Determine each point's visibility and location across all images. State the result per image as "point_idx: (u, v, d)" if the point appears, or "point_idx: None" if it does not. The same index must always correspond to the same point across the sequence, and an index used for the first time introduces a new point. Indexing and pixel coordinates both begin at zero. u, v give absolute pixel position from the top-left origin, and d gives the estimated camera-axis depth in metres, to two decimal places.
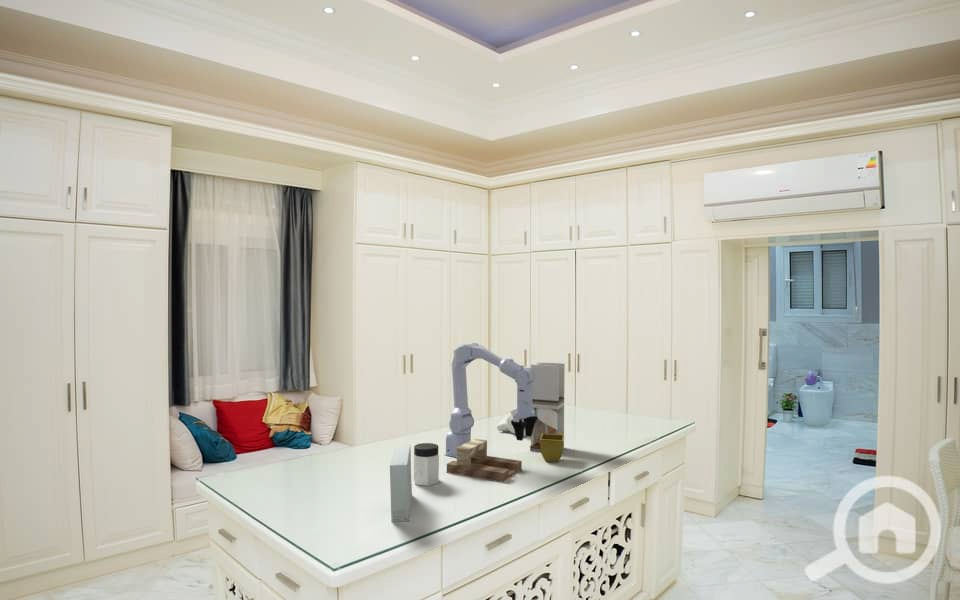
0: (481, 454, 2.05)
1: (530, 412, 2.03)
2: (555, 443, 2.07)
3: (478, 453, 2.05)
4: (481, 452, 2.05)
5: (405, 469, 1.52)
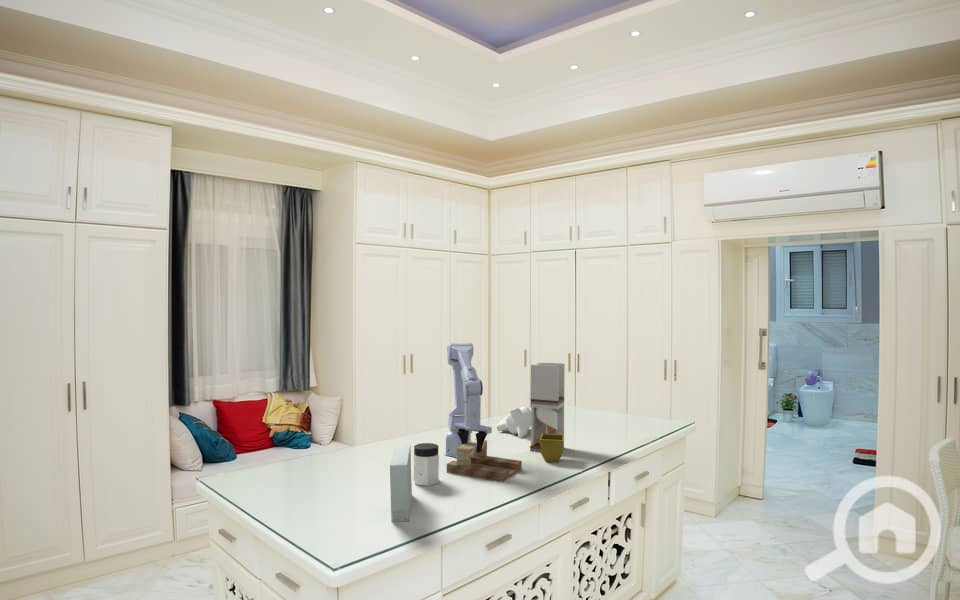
0: (481, 454, 2.05)
1: (467, 425, 1.98)
2: (555, 443, 2.07)
3: (478, 453, 2.05)
4: (481, 452, 2.05)
5: (405, 469, 1.52)
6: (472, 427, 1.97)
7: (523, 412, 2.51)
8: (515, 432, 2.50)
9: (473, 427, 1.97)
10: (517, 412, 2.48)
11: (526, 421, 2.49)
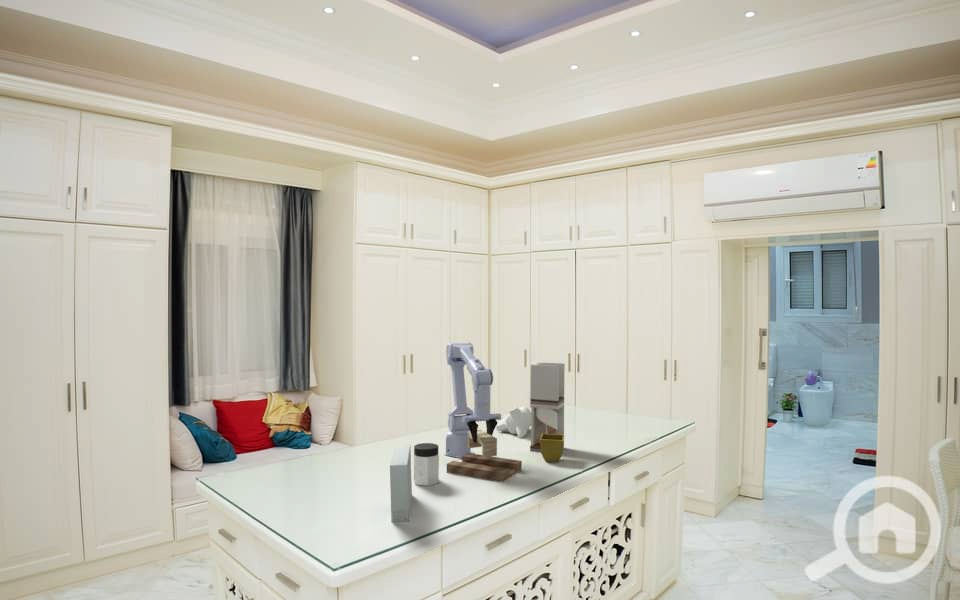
0: (477, 444, 2.04)
1: (483, 415, 1.95)
2: (555, 443, 2.07)
3: (474, 444, 2.03)
4: (477, 442, 2.04)
5: (405, 469, 1.52)
6: (488, 416, 1.96)
7: (523, 412, 2.51)
8: (515, 432, 2.50)
9: (489, 416, 1.97)
10: (516, 412, 2.48)
11: (526, 421, 2.49)
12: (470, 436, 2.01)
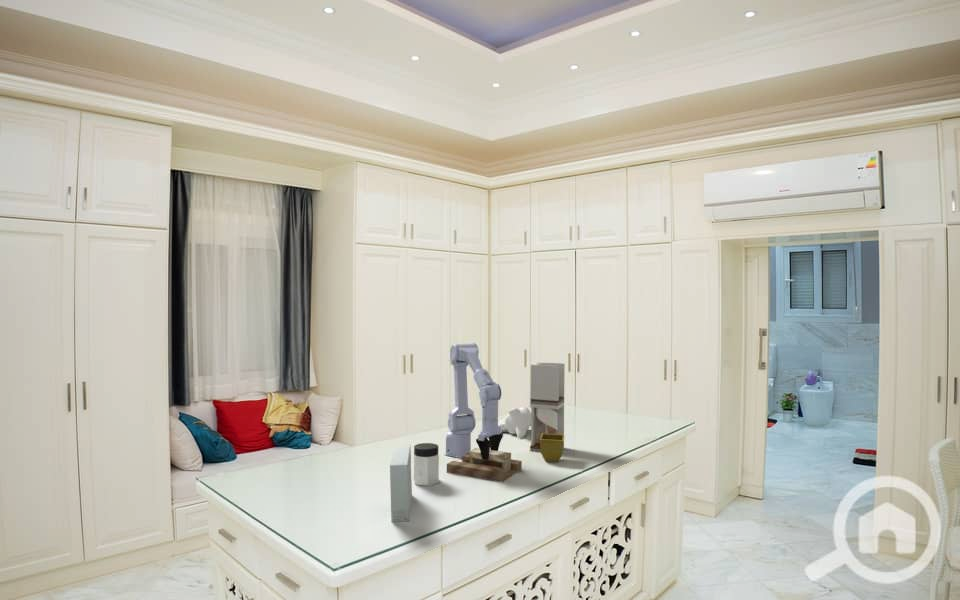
0: (476, 463, 2.00)
1: (496, 430, 1.95)
2: (555, 443, 2.07)
3: (475, 463, 1.99)
4: (476, 461, 2.00)
5: (405, 469, 1.52)
6: (498, 430, 1.97)
7: (522, 412, 2.50)
8: (514, 432, 2.50)
9: (498, 430, 1.97)
10: (516, 412, 2.48)
11: (525, 421, 2.49)
12: (475, 456, 1.96)
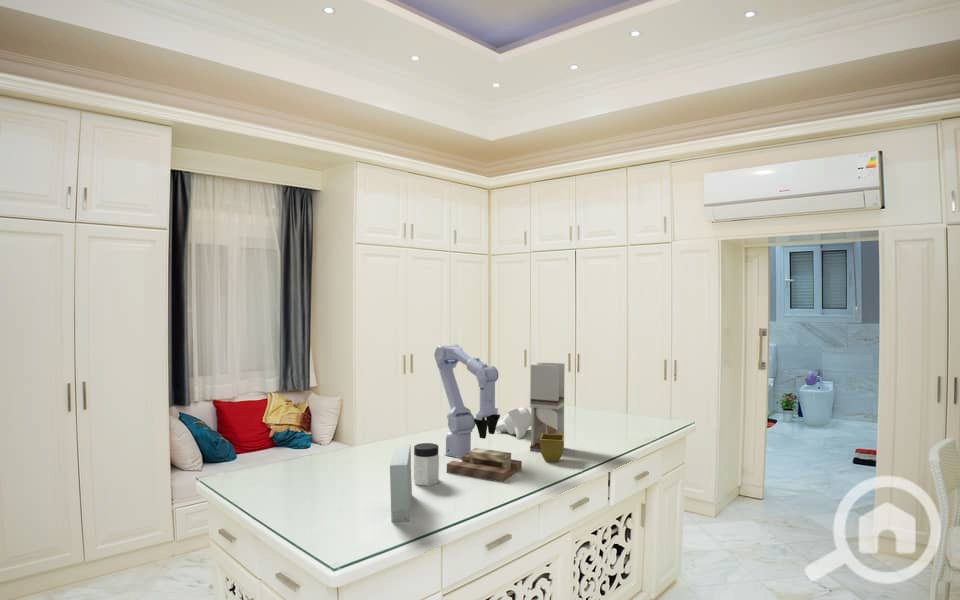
0: (476, 463, 2.00)
1: (493, 410, 2.04)
2: (555, 443, 2.07)
3: (475, 463, 1.99)
4: (476, 461, 2.00)
5: (405, 469, 1.52)
6: (495, 411, 2.06)
7: (521, 413, 2.50)
8: (513, 433, 2.49)
9: (495, 411, 2.06)
10: (515, 413, 2.47)
11: (524, 421, 2.48)
12: (475, 456, 1.96)
